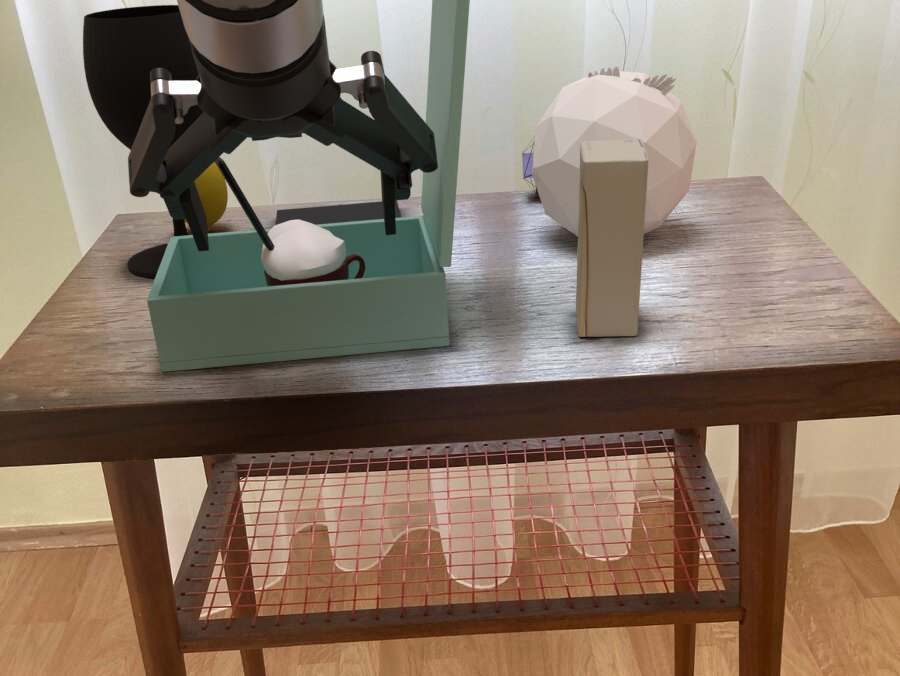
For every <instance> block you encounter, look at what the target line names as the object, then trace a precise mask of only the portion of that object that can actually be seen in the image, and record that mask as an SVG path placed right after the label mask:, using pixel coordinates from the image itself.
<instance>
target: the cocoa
mask: <svg viewBox="0 0 900 676" xmlns="http://www.w3.org/2000/svg"><path fill="white" fill-rule="evenodd" d="M215 163H216V165H217V167H218V168H219V170H220V172H221V173H222V175H223V177H224V178H225V181H226V184H227V185H228V187H229V188H230V190H231V192H232V193H233V195H234V197H235V199H236V200H237V202H238V204H239V205H240V207H241V209H242V210H243V212H244V213H245V215H246V217H247V219H248V220H249V222H250V224H251V225H252V227H253V228H254V230H256V232H257V233H258V235H259V237H260V238H261V240H262V242H263V248H262V256H261V262H262V264H263V266H264V268H265V271H264V274H265V278H266V282H267V286H280V285H291V284H303V283H314V282H326V281H337V280H349V268H348V266H349V264H350V263H351V262H353V261H359V271H358V273H357V275H356V276H355V278H354V279H360V278H362V277H363V275H364V272H365V262H364V260H363V258H362V257H360V256H359V255H356V254H354V255H350V256H348V257H346V247H345V242H344V240H342V239H340V238H337V237H335V236H334V235H333V234H332V233H331V232H330V231H328V230H326V229H323V228H321V227H319V226H316V225H314V224H312V223H309V222H306V221H302V220H299V219H298V220H290V221H287V222H284V223H281V224H278V225H276V224H275V225H273V226H272V227H271V228H272V229H271V228H270V229H271V230H270V231H269V232H268V234H267V232H266V231H265V229H266V228H265V227H264V225H263V224H262V223H261V221H260V219H259V218H258V216H257V213H256V212H255V210H254V208H253V207H252V206H251V204H250V202H249V200H248V199H247V197H246V194H244V192H243V191H242V188H241V186H240V185H239V184H238V182H237V180H236V178H235V177H234V175H233V173H232V172H231V170H230V169H229V166H228V164H227V163H226V161H225V160H224V159H223V158H222V157H221V156H220V157H219V158H218V159H217V160H216V161H215Z"/></svg>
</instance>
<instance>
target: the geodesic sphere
mask: <svg viewBox="0 0 900 676" xmlns="http://www.w3.org/2000/svg"><path fill="white" fill-rule="evenodd" d="M667 76H668V74H667V73H665V74H664V75H661V76H660V78H659V75H655V76H653V77H651V76H650V75H649V74H647V73H646V72H639V71H637V72H636V71H626V70H625V71H624V70H620V68H619V67H618V66H615V67H614V68H613V69H612V68H611V67H608V68H607V69H605V68H604V67H603V68H601V69H600V70H598V71H597V70H595V71H594V72H593V73H592V72H588V74H587V76H585V77H582V78H580V79H578V80H576V81H573V82H571V83H569V84H567V85H565V86H563V87H561V88H560V90H559V91H558V93H557V95H556V96H555V98H554V99H553V100H552V102H551V103H550V105H549V107H548V108H547V109H546V111H545V112H544V114H543V115H542V117H541V118H540V120H539V121H538V122H537V124H536V125H535V127H534V136H535V137H534V138H533V143H534V145H533V152H532V153H533V166H532V176H533V178H532V179H533V182H534V186H536V187H535V189H536V188H537V191H538V193H539V200H540V202H541V205H542V207H543V211H544V214H545V215H547V217H549V218H550V219H552V220H554V221H555V222H557V224H559V225H561V226H562V227H563V228H564V229H566V230H568V231H569V232H570V233H572V234H574V235H575V236H576V237H578V226H579V189H580V141H581V140H612V139H638V138H640V139H641V141H642V143H643V145H644V147H645V150H646V153H647V156H648V176H647V192H646V207H645V222H644V235H645V234H647V233H650V232H652V231H654V230H656V229H658V228H660V227H661V226H662V225H663V223H664V222H665V221H666V220H667V218H668V217H669V216H670V215H671V214H672V212H673V211H674V210H675V208H676V207H677V206H678V205H679V203H680V202H681V201H682V200H683V199H684V197H685V196H686V195H687V194H688V192H690V188H691V181H692V174H693V169H694V162H695V156H696V150H697V149H696V148H697V143H698V141H697V139H696V137H695V135H694V131H693V128H692V125H691V122H690V121H689V118H688V116H687V113H686V110H685V107H684V105H683V102H682V100H681V99H679V98H678V97H677V96H675V95H674V94H673V93H672V92H671V91H672V90H673V88H675V84H673V83H675V82H676V80H677V78H673V76H670V77H667Z"/></svg>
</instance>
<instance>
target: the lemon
mask: <svg viewBox="0 0 900 676" xmlns="http://www.w3.org/2000/svg"><path fill="white" fill-rule="evenodd" d="M194 182H195V185H196V188H197V191H198V194H199V196H200V199H201V202H202V205H203V208H204V211H205V214H206V217H207V230H208V232H210V229H211V227H213V225H214V224H216V223H217V222H219V221H220V220H221V219H222V217H223V216H224V214H225V212H226V210H227V206H228V199H229V193H228V186H227V185H228V184H227V182H226V180H225V178H224V177H223V175H222V173H221V172H220V170H219V168H218V167H217V165H216V163H215V162H214V163H212V164H211V165H210V166H209V167H208V168H207V169H206V170H205V171H204V172H203V173H202V174H201V175H200V176H199V177H198V178H197V179H196V180H195V181H194ZM184 221H185V224H187V225H188V222H187V219H184Z"/></svg>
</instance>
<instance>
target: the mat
mask: <svg viewBox="0 0 900 676" xmlns="http://www.w3.org/2000/svg"><path fill="white" fill-rule="evenodd" d="M275 216H276V217H275V225H278V224H281V223H284V222H287V221H290V220H298V219H299V220H302V221H306V222H309V223H312V224H314V225H318V224H330V223H342V222H354V221H366V220H378V219H384V214H383V205H382V200H381V201H369V202H359V203H357V202H356V203H346V204H334V205H323V206H309V207H298V208H285V209H277V210H276V215H275ZM401 217H402V214H401V210H400V208H399V202H398V200H396V201H395V218H401Z"/></svg>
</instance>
